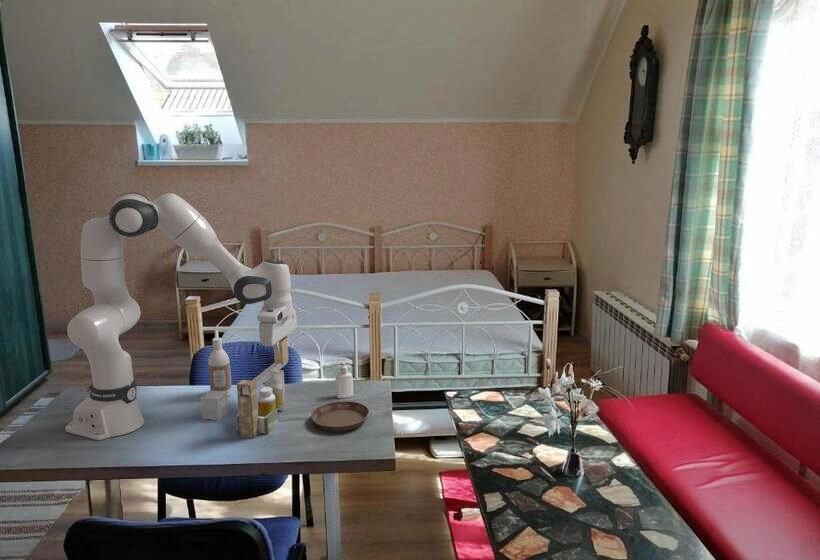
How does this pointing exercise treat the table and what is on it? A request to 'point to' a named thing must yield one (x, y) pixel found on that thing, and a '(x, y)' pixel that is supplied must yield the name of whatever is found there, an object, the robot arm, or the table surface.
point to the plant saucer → (340, 416)
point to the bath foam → (219, 368)
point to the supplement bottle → (266, 401)
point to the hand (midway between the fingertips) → (280, 350)
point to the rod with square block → (274, 375)
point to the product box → (214, 405)
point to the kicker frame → (252, 412)
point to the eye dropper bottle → (344, 383)
